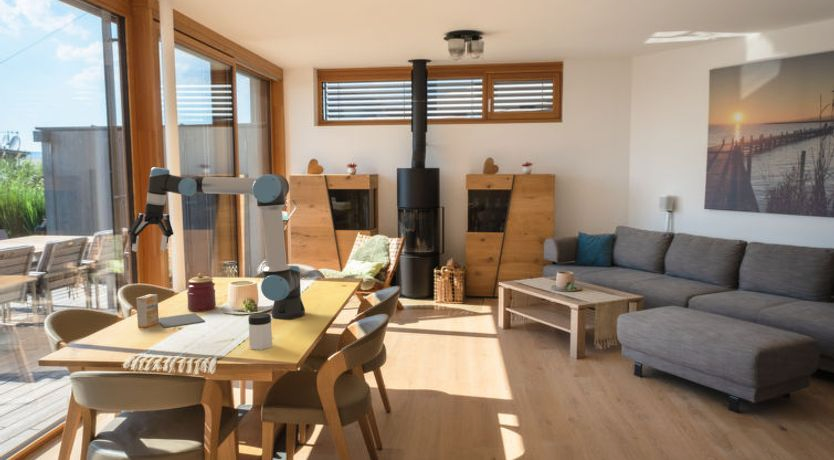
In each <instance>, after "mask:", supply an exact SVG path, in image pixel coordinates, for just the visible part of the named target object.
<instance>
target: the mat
mask: <svg viewBox="0 0 834 460" xmlns="http://www.w3.org/2000/svg"><path fill="white" fill-rule="evenodd" d="M205 322H206V321H205V319H204V318H202V317H200V315H198V314H197V313H196V312H193V313H186V314H185V313H183V314H178V315H177V314H176V315H171V316H164V317H159V323H158V324H159V325H160V326H161V327H163V328H164V329H166V328H168V329H169V328H174V327H180V326H186V325H194V324H201V323H205Z"/></svg>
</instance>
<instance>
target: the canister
mask: <svg viewBox="0 0 834 460" xmlns="http://www.w3.org/2000/svg"><path fill="white" fill-rule="evenodd" d="M213 281H214V279H213V278H212V277H210V276H206V275H205V276H204V274H203V272H198V274H197V276H193V277H191V278H190V279H189V280H187V282H188V283H187V285H186V288H187V292H186V294H187V309H188V311H189V312H207V311H212V310H215V309H216V307H217V302H216V289H215V285H216V283H215V282H213Z"/></svg>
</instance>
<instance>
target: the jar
mask: <svg viewBox="0 0 834 460" xmlns="http://www.w3.org/2000/svg"><path fill="white" fill-rule="evenodd" d="M272 334H273V333H272V314H270V313H268V312H266V313H265V312H259V313H258V312H257V313H253V314H249V316H248V336H249V337H248V338H249V347H250V350H257V351H258V350H259V351H262V350H266V349H270V348H273V335H272Z"/></svg>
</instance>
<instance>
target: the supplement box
mask: <svg viewBox="0 0 834 460" xmlns="http://www.w3.org/2000/svg"><path fill="white" fill-rule="evenodd" d="M158 299H159V298H158V294H157V293H156V294H153V293H152V294H151V293H149V294H146V295H142V296H139V297H138V296H137V297H136V317H137V328H139V329H140V328H141V329H145V328H146V329H147V328H150V327H153V326H155V325H158V324H160V323H159V318H160V316H159V303H158V302H159V301H158Z"/></svg>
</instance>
